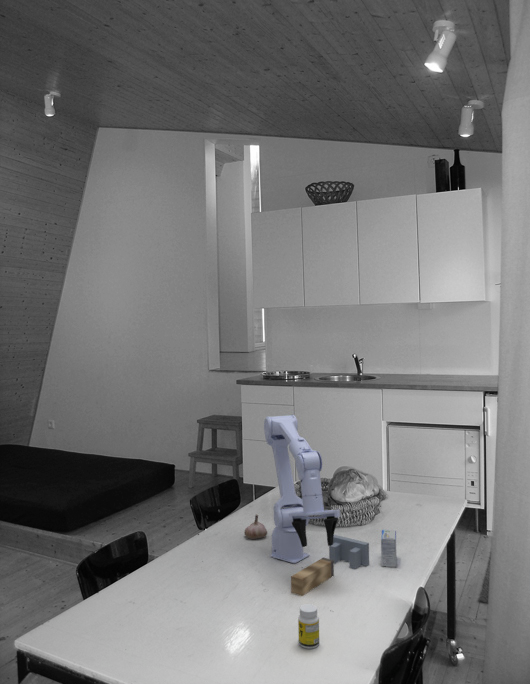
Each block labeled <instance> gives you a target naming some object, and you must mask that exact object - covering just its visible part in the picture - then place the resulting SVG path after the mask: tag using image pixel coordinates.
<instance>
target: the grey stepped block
mask: <svg viewBox="0 0 530 684" xmlns="http://www.w3.org/2000/svg"><path fill="white" fill-rule="evenodd" d="M328 547H329V548H328V549H329V551H328V552H329V553H328V554H329V555H328V557H329V558H328V559H331V560H334V565H335V564H337V563H338V562H341V561H344V562H348V563H349V564H348V565H349V568H350V569H354V570H357V569H359V568H360V567H362V566H363V567H367V566H369V565H370V543H369V542H367V541H362V540H358V539H354V538H349V537H345V536H341V535H337V534H334V537H333V545H331V546H328ZM359 566H360V567H359Z"/></svg>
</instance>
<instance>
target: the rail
mask: <svg viewBox="0 0 530 684" xmlns="http://www.w3.org/2000/svg"><path fill="white" fill-rule="evenodd" d="M334 565H335V564H334V560H331V559H329V558H326V557H321V559H319V560H317V561H315V562H313V563H311V564H310V565H308V566H306V567H305V568H302V569H301V570H299V571H297V572H296V573H294V574H293V575H291V576H290V578H291V579H290V583H291V584H290V587H291V588H290V589H291V590H290V592H291V593H292V594H295V595H298V596H301V597H303V596H304V595H306V594H307V593H309V592H311V591H312V590H314V589H315V588H317V587H319V586H320V585H321V583H322V584H323V583H325V582H326V581H328V580H330V579H331V578H332V576H333V577H334V576H335V572H334V571H335V570H334V569H335V566H334ZM324 581H325V582H324ZM313 588H314V589H313ZM310 590H311V591H310Z"/></svg>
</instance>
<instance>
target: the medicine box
mask: <svg viewBox="0 0 530 684" xmlns="http://www.w3.org/2000/svg"><path fill="white" fill-rule="evenodd" d="M380 537H381V538H380V549H381V551H380V552H381V553H380V557H381V558H380V559H381V561H380V562H381V567H383V566H386V567H385V568H397V562H398V561H397V530H395V529H394V530H393V529H382V530H381V536H380Z"/></svg>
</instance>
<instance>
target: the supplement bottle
mask: <svg viewBox="0 0 530 684" xmlns="http://www.w3.org/2000/svg"><path fill="white" fill-rule="evenodd" d="M297 622H298V644H299V646H300V647H301V648H304V649H316V648H317V647H319V645H320V616H319V615H318V607H317V605H315V604H312V603H305V604H301V605H300V607H299V615H298V620H297Z"/></svg>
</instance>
